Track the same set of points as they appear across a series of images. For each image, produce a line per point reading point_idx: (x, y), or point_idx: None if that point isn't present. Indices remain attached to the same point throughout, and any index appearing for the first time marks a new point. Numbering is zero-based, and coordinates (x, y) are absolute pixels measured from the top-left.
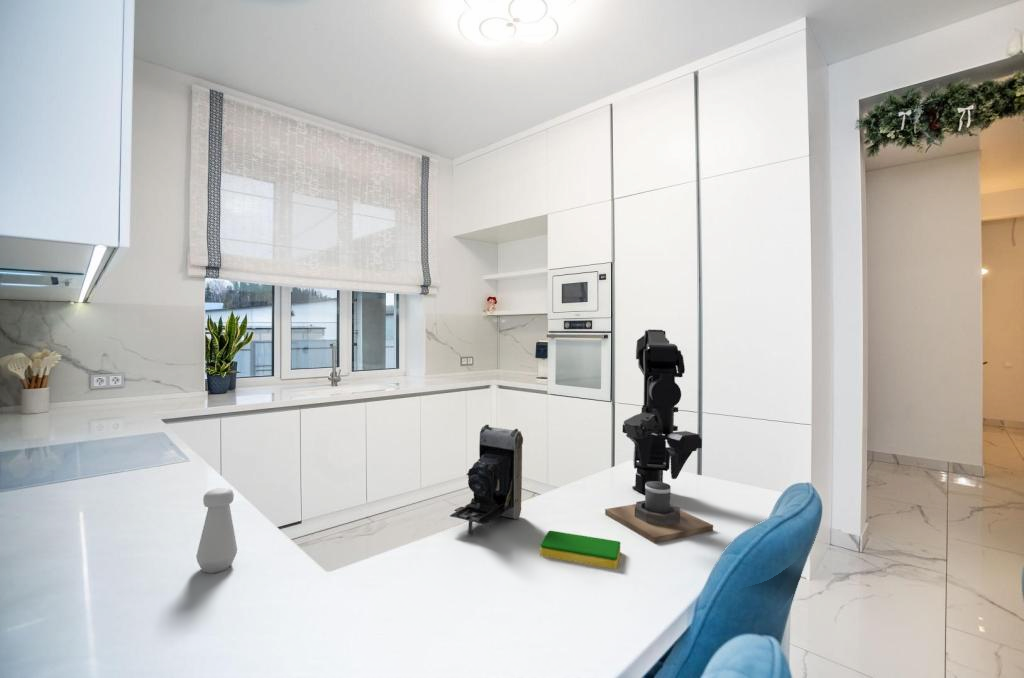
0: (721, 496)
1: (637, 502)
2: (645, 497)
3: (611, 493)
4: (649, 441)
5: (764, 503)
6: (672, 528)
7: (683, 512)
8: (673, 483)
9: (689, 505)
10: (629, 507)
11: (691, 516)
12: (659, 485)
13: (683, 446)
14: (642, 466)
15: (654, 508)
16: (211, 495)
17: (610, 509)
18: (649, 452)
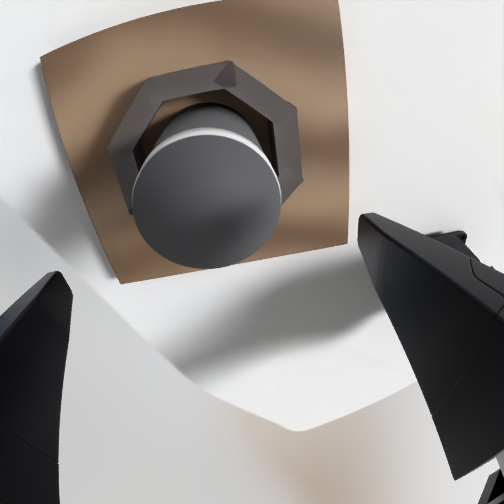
0: (321, 381)
1: (288, 108)
2: (229, 121)
3: (470, 150)
4: (452, 426)
5: (260, 414)
6: (96, 150)
7: None
8: None
9: (305, 308)
10: (325, 95)
11: None
12: (195, 213)
13: None
14: (364, 214)
15: (166, 128)
16: None
17: (328, 10)
18: (405, 346)
